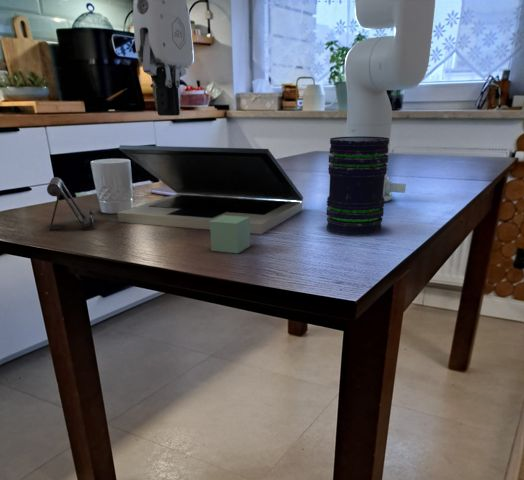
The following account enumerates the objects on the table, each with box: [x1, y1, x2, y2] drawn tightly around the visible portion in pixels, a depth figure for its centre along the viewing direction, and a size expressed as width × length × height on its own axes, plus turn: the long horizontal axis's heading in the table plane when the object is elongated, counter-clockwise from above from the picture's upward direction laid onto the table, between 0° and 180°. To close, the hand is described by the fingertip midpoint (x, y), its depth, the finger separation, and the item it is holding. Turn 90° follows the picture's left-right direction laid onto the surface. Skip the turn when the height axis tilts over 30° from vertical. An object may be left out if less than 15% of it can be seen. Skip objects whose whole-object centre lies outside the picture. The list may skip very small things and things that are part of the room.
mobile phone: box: [148, 185, 198, 197], centre depth 127 cm, size 8×1×15 cm
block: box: [209, 215, 251, 254], centre depth 80 cm, size 5×5×5 cm
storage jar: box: [326, 136, 389, 237], centre depth 88 cm, size 10×10×15 cm
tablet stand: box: [46, 176, 94, 231], centre depth 95 cm, size 9×8×8 cm
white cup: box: [90, 158, 134, 215], centre depth 107 cm, size 8×8×10 cm
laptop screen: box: [118, 144, 304, 202], centre depth 101 cm, size 22×30×1 cm
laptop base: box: [116, 194, 303, 235], centre depth 103 cm, size 22×30×2 cm
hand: (168, 115), depth 84 cm, fingers closed
